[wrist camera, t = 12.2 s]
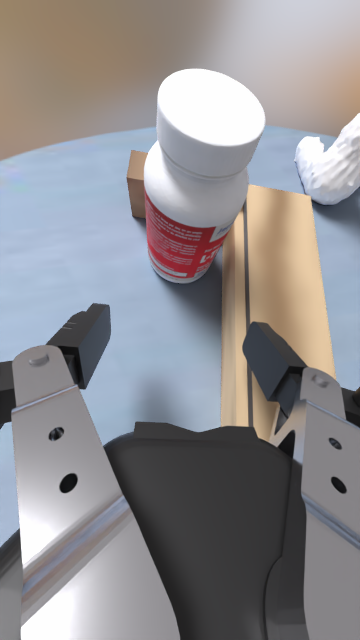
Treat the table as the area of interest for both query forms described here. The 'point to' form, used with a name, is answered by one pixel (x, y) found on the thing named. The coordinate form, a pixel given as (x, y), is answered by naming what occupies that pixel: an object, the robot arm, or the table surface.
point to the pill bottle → (198, 169)
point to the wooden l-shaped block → (263, 291)
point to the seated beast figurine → (331, 165)
